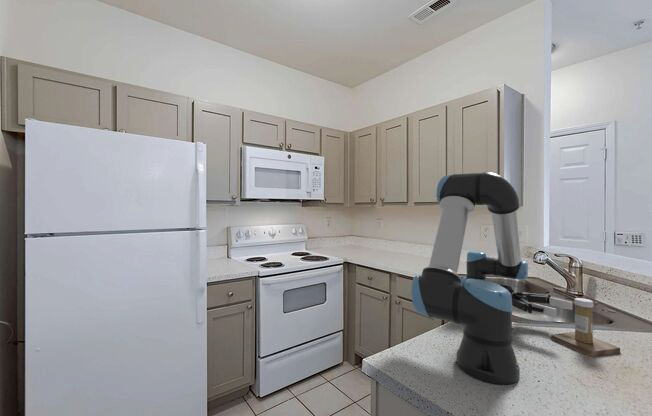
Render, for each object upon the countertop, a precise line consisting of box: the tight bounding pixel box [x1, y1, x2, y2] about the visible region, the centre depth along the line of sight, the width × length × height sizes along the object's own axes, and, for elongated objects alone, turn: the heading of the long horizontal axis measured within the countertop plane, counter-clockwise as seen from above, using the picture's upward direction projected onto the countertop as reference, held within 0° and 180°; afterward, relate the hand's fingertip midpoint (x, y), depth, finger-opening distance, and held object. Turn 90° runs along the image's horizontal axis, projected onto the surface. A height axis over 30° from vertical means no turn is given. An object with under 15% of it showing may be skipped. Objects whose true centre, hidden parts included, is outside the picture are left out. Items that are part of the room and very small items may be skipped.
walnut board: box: [550, 331, 621, 358], centre depth 92 cm, size 12×12×2 cm
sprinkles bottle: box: [574, 297, 594, 344], centre depth 92 cm, size 5×5×14 cm
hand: (564, 309), depth 97 cm, fingers open, 13 cm apart
